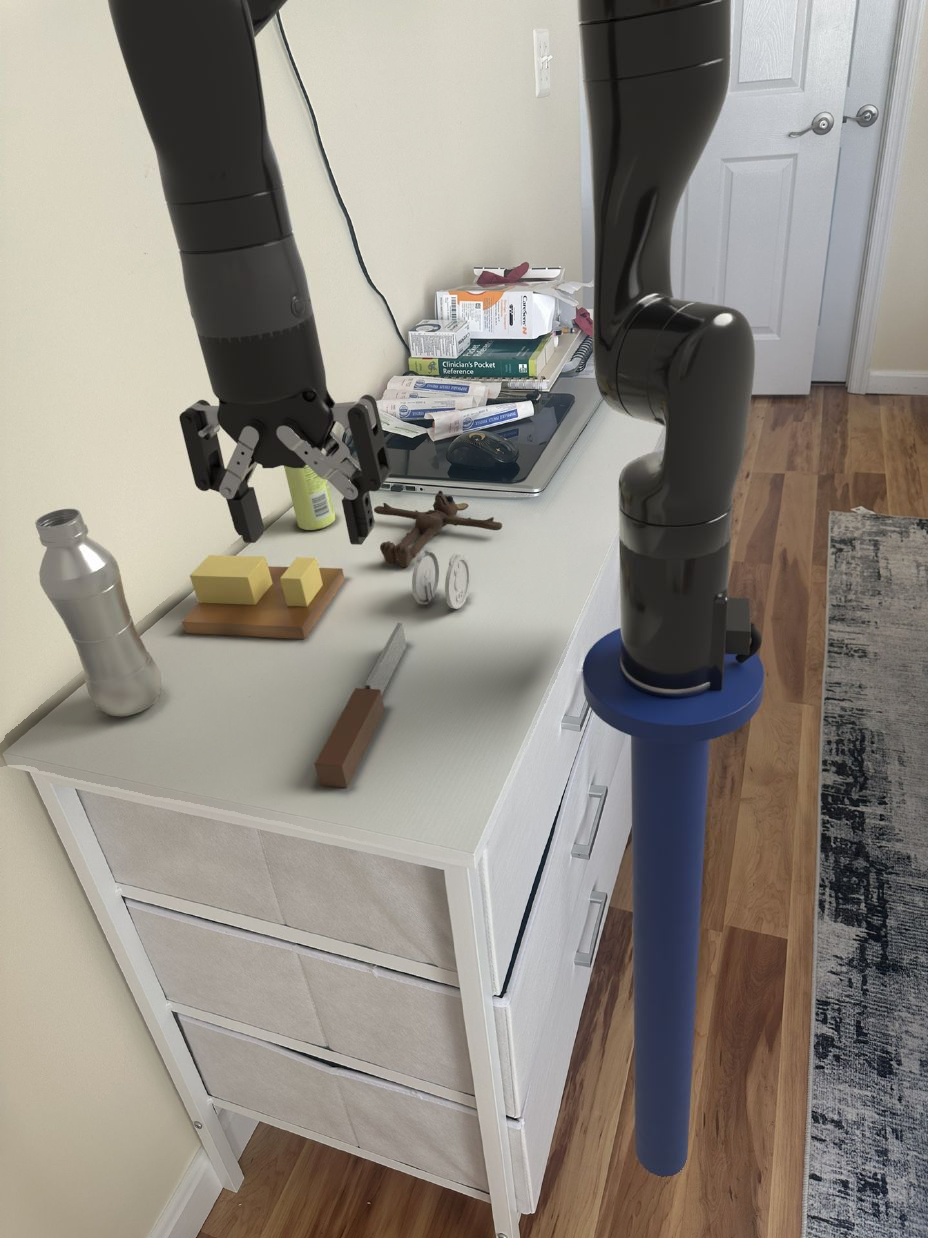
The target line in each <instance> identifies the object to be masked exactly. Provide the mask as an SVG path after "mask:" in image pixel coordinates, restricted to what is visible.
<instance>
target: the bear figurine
mask: <svg viewBox="0 0 928 1238" xmlns="http://www.w3.org/2000/svg"><path fill="white" fill-rule="evenodd" d="M382 504H383V505H382V506H381V505H378V506H375V507H374V508H373V512H374V513H375V514H378V515H383V516H395V517H401V518H406V519H412V520H415V522H414V527H413V528H412V529H411V530H410V531H409V532H407V533H406V535H405V537H404V538H403V539H401V541H400V542H399V543H396V544H395V543H394V542H391V541H384V542H381V544H380V546H379V549H380V552H381V554H382V556H383V558H384V561H385V562H386V564H388V565H391V566H393V565H396V563H397V561H398V564H399V566H401V567H403V568H408V567H409V566H410V564H411V562H412V561H413V559H415V558H416V557H417V555H418V554H419V553H420V552H421V550H422V549H423V548H424V546H426V544H427V543H428V542H429V541H430V540H431V539H432V537H435V536H436V535H438V534H440V531H441V530H442V529H443V527H445V526H447V525H452V526H456V527H457V526H463V527H470V528H471V527H472V528H479V529H485V530H489V531H500V530H502V528H503V524H502V522H499V521H494V519H495V517H494V516H492V517H489V518H487V519H474V518H471V517H459V516H456V515H457V513H458V511H460V512H461V511H465V510H466V509H468V508H469V503H466V502H462V503H456V502H455V501H454V497H453V496H452V495H445V494H444V493H443V491H442V490H438V492H437V494H435V496H434V502H433V504H432V507H433V509H428V510H427V511H423V512H422V511H419V510H417V509H415V511H414V510H407V509H401V508H395V507H392V506H390V505H389V504H388V503H386V502H383V503H382ZM419 535H421V536H420V537H419ZM418 537H419V538H418ZM417 538H418V539H417ZM416 539H417V541H415V540H416ZM414 541H415V543H414V544H413V545H412V546H411V547H410V545H411V544H412V543H413V542H414Z"/></svg>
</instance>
